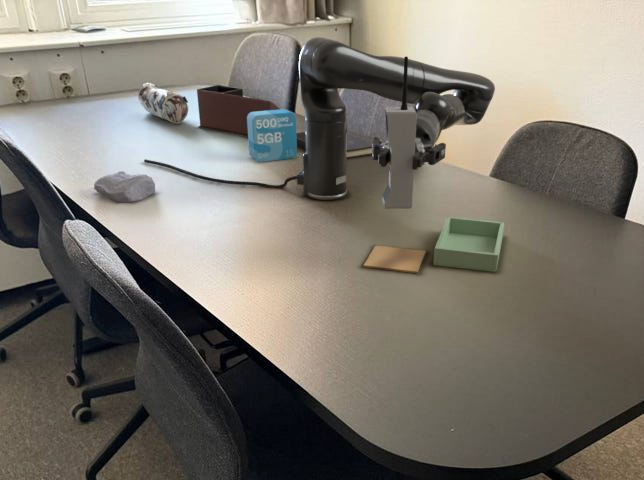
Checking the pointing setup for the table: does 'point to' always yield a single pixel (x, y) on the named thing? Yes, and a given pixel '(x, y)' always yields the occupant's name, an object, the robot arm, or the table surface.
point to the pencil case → (163, 103)
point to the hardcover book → (354, 145)
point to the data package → (272, 135)
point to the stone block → (125, 186)
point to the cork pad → (395, 259)
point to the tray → (469, 244)
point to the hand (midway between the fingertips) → (398, 162)
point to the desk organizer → (228, 109)
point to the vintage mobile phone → (400, 151)
